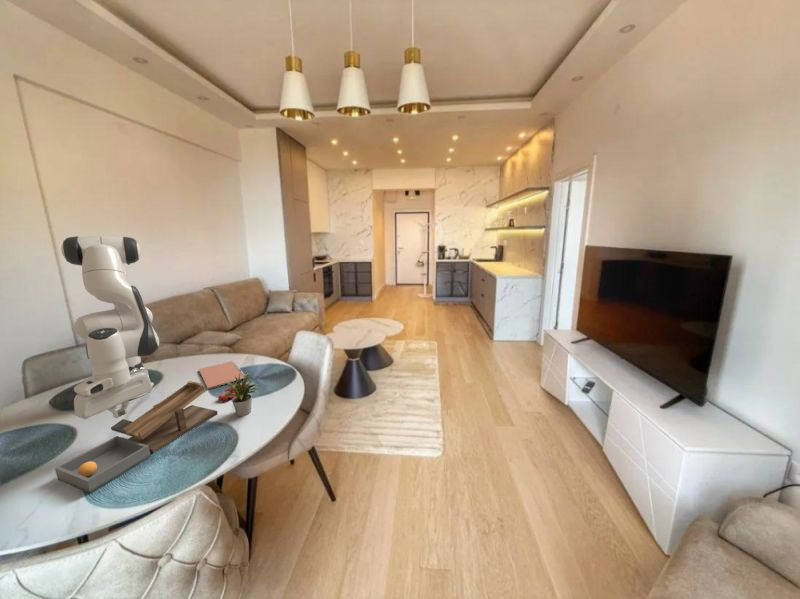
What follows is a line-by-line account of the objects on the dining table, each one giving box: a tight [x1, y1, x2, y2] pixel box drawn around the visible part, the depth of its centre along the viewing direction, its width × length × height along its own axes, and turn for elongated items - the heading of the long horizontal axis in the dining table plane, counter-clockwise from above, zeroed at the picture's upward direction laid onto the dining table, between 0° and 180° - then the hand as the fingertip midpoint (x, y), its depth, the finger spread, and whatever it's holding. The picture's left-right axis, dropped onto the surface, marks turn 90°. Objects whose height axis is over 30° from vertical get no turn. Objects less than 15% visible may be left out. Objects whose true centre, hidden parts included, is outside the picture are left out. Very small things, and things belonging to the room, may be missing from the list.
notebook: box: [198, 360, 246, 390], centre depth 160 cm, size 27×17×2 cm, turn 39°
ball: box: [78, 461, 97, 477], centre depth 93 cm, size 4×4×4 cm
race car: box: [218, 382, 242, 403], centre depth 140 cm, size 13×5×4 cm, turn 156°
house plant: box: [218, 371, 260, 417], centre depth 123 cm, size 14×14×16 cm
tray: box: [54, 435, 152, 495], centre depth 97 cm, size 16×16×4 cm
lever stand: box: [128, 402, 219, 454], centre depth 116 cm, size 14×24×9 cm, turn 160°
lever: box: [110, 380, 206, 440], centre depth 115 cm, size 16×24×4 cm, turn 160°
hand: (120, 415), depth 107 cm, fingers closed
